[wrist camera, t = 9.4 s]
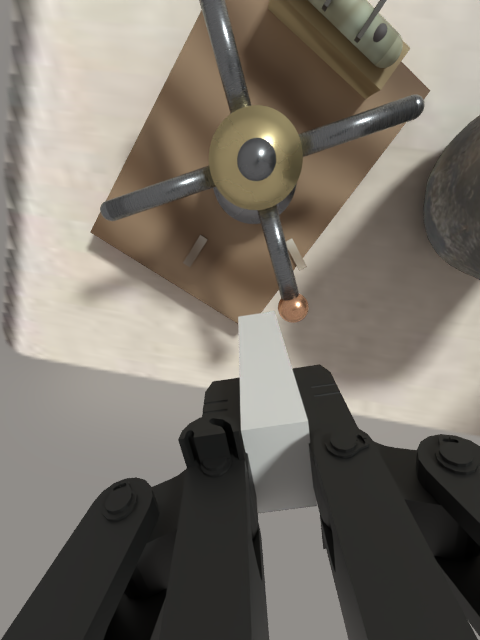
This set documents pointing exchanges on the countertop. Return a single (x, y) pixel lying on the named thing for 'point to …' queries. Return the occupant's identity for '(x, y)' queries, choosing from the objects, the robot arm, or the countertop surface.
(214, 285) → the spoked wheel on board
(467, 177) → the grey stone bowl
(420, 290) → the countertop surface
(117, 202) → the cam capstan
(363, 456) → the robot arm
